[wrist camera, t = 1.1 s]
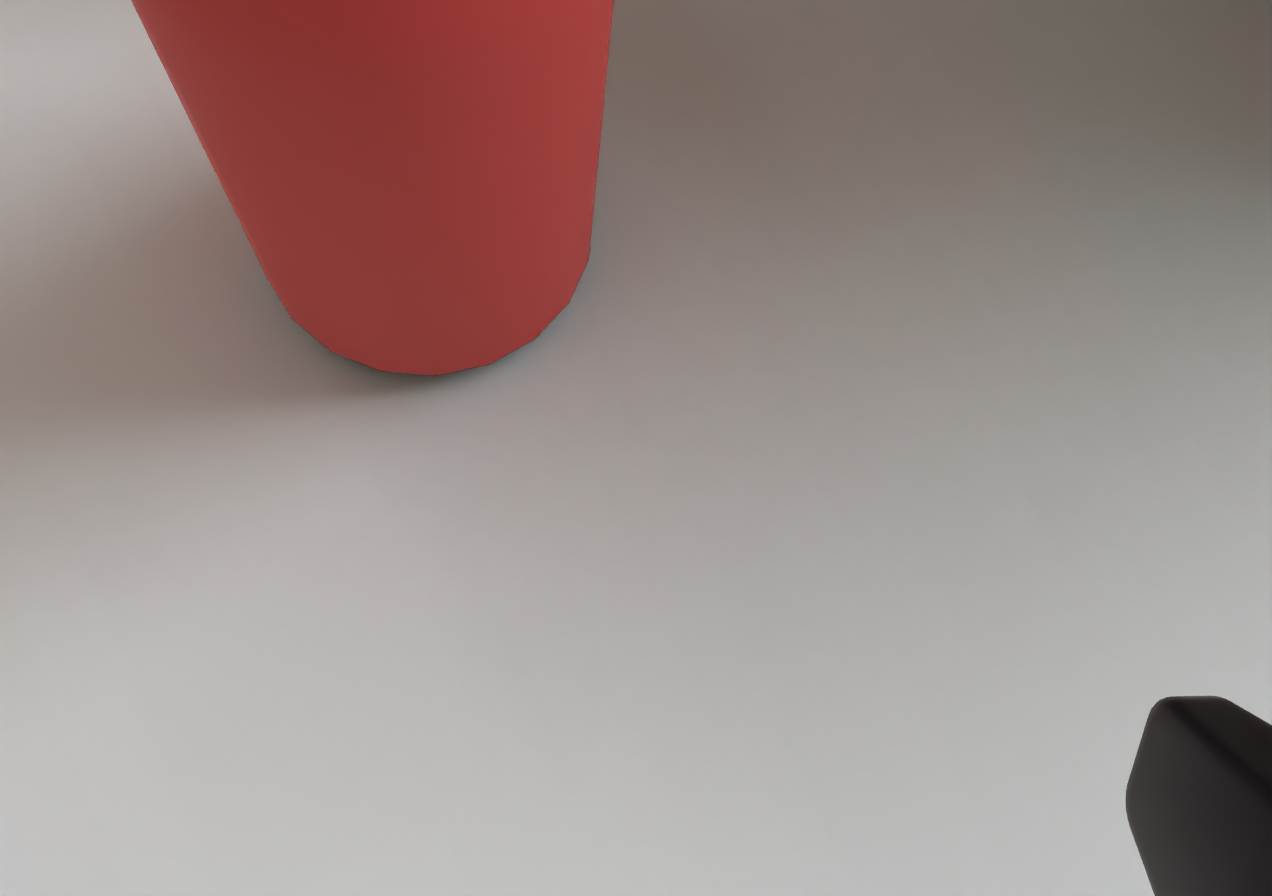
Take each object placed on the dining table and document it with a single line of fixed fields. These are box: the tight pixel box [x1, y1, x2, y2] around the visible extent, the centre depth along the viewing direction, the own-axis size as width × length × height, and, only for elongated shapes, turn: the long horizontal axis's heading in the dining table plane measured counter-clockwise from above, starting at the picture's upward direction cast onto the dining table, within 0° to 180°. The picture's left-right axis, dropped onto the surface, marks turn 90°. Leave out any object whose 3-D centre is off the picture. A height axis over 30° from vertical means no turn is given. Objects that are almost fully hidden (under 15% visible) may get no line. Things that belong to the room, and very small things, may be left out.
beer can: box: [131, 0, 614, 376], centre depth 18 cm, size 7×7×12 cm
